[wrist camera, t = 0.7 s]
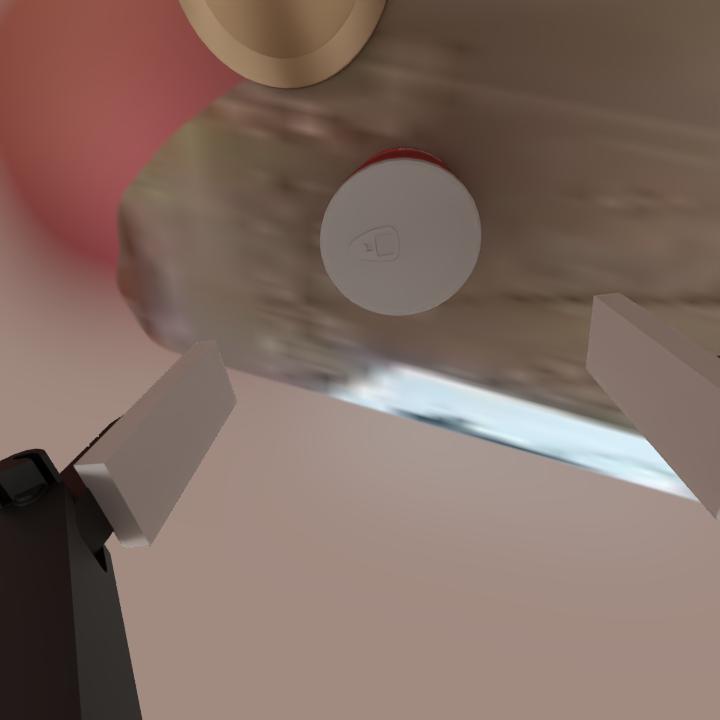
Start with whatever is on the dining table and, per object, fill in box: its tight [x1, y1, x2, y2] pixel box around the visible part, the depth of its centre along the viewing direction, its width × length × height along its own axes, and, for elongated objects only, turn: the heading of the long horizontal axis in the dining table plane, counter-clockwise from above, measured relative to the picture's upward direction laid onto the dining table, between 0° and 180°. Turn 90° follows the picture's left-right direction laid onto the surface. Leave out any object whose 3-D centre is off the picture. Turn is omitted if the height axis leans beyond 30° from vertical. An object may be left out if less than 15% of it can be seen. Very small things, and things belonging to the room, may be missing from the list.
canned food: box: [320, 147, 482, 316], centre depth 25 cm, size 8×8×11 cm
